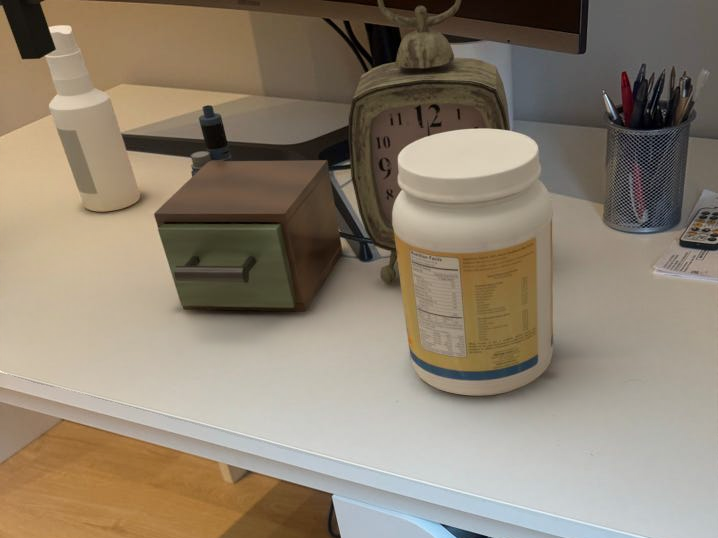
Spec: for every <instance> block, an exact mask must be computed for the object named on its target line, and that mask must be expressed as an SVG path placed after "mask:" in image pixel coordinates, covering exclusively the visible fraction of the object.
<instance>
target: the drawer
mask: <svg viewBox="0 0 718 538" xmlns="http://www.w3.org/2000/svg"><path fill="white" fill-rule="evenodd" d="M230 223H231V222H177V224H162V225H161V226H160V227H159V228H158V227H157V231H158V235H159V237H160V241H161V244H162V247H163V250H164V254H165V258H166V260H167V263H168V267H169V271H170V273H171V276H172V280H173V283H174V286H175V290H176V293H177V296H178V300H179V302H180V306H181V307H182V306H216V307H277V308H294V306H295V305H296V303H297V299H296V294H295V289H294V284H293V280H292V275H291V270H290V266H289V261H288V256H287V252H286V247H285V242H284V237H283V233H282V228H281V224H279V222H271V224H230Z"/></svg>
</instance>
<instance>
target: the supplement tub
mask: <svg viewBox="0 0 718 538" xmlns="http://www.w3.org/2000/svg"><path fill="white" fill-rule="evenodd" d="M398 170H399V174H398V185H399V186H400V188H401V189H402V190H401V192H400V193H399V195H398V196H397V198H396V200H395V202H394V206H393V211H392V225H393V229H394V237H395V244H396V251H397V267H398V274H399V281H400V289H401V297H402V305H403V311H404V312H403V313H404V319H405V326H406V327H405V328H406V333H407V334H406V335H407V342H408V350H409V359H410V361H411V364H412V368H413V369H414V370H415V372H416V374H417V375H418V376H419V377H420V379H422V380H423V381H424V382H425V383H427V384H428V385H430V386H432V387H433V388H436V389H438V390H440V391H444V392H447V393H450V394H455V395H463V396H474V397H475V396H476V397H477V396H478V397H479V396H480V397H481V396H493V395H500V394H504V393H507V392H512V391H514V390H518V389H519V388H522V387H524V386H526V385H528V384H530V383H531V382H533V381H536V379H538V378H539V377H540V376H541V375H542V374H543V373H544V372H545V371H546V370H547V368H548V367H549V365H550V363H551V361H552V356H553V351H554V297H553V296H554V294H553V293H554V292H553V291H554V290H553V289H554V288H553V278H554V277H553V215H554V210H553V204H552V199H551V198H552V197H551V195H550V193H549V191H548V189H547V187H546V186H545V184H544V182H542V181H541V180H540V179H539V178H540V176H541V173H542V165H541V163H540V153H539V145H538V143H536V141H535V140H534V139H533V138H532V137H530V136H528V135H526V134H523V133H521V132H516V131H513V130H510V131H508V130H500V129H463V130H455V131H449V132H443V133H439V134H434V135H431V136H427V137H424V138H422V139H419V140H417V141H415V142H413V143H411V144H409V145H408V146H406V147H405V148H404V149H403V150H402V151H401V152H400V153H399V155H398Z"/></svg>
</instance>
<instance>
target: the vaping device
mask: <svg viewBox="0 0 718 538" xmlns="http://www.w3.org/2000/svg"><path fill="white" fill-rule="evenodd" d="M213 107H214V106H213V105H211V104H210V105H209V104H208V105H204V106H202V107H201V108H202V111H203V114H202V115H200V116H198V122H199V124H200V129H201V133H202V137H203V141H204V145H205V149H206V150H202V151H195V152H193V153H191V154H190V159H191V162H192V163H191V165H190V167H191V171H190V172H191V178H192V177H193V176H194V175H195V174H196V173H197V172H198V171H199V170H200V169H201V168H202V167H203V166H204V165H205V164H206V163H207V162H209V161H233V156H232V154H231V152H230V147H229V144H228V138H227V135H226V131H225V126H224V123H223V118H222V115H221V113H218V112H215V111H214V108H213Z"/></svg>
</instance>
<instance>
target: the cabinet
mask: <svg viewBox="0 0 718 538" xmlns="http://www.w3.org/2000/svg"><path fill="white" fill-rule="evenodd" d="M153 216H154V218H155V222H156V226H157V229H158V228H159V227H160V226H161V225H162V224H177V222H279V224H281V228H282V233H283V237H284V242H285V247H286V252H287V256H288V261H289V266H290V270H291V275H292V280H293V284H294V289H295V294H296V299H297V303H296V305H295V306H294V308H277V307H216V306H181V307H182V310H217V311H219V310H220V311H222V310H223V311H224V310H225V311H272V312H273V311H275V312H276V311H277V312H279V311H280V312H283V311H284V312H306V311H307V309H308V308H309V306H310V305H311V304H312V302H313V300H314V298H315V296H316V295H317V293H318V292H319V290H320V288H321V287H322V285H323V284H324V282H326V279H327V278H328V276H329V274H330V273H331V272H332V270H333V268H334V267H335V266H336V263H337V262H338V260H339V259H340V257H341V255H342V254H343V246H342V241H341V240H342V239H341V233H340V227H339V222H338V221H339V220H338V215H337V210H336V203H335V199H334V192H333V187H332V180H331V174H330V169H329V161H328V160H327V159H325V160H323V159H319V160H318V159H317V160H311V159H309V160H305V159H304V160H232V161H209V162H207V163H206V164H205V165H204V166H203V167H202V168H201V169H200V170H199V171H198V172H197V173H196V174H195V175H194V176H193V177H192V176H191V178H189V179H188V180H187V182H185V183H184V184H183V185H182V186H181V187H180V188H179V189H178V190H177V191H176V192H175V193H173V195H172V196H170V198H168V199H167V201H165V202H164V203H163V204H162V205H161V206H160V207H159V208H158V209H157V210H156V211H155V212H153Z"/></svg>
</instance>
